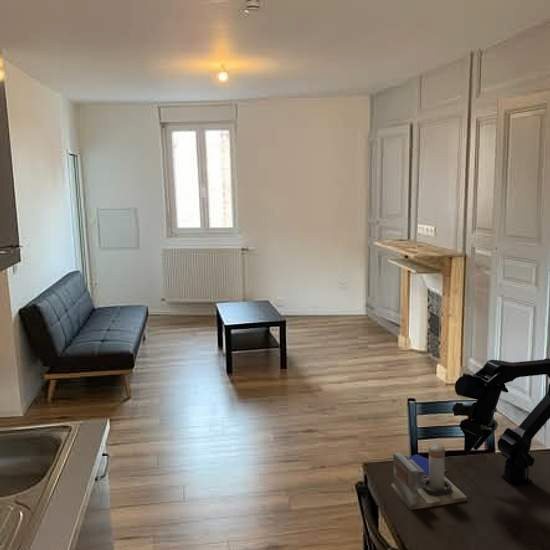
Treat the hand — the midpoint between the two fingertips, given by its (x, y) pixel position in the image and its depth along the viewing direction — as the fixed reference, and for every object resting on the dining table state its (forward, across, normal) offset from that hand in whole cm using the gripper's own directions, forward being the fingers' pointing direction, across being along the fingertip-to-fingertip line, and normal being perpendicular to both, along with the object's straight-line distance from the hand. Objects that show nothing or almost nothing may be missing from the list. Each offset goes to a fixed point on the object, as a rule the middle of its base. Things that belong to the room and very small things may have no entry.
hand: (470, 451), depth 169 cm
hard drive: (+14, -8, -14) cm, 21 cm away
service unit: (+15, +7, -6) cm, 18 cm away
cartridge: (+13, +5, -4) cm, 15 cm away
